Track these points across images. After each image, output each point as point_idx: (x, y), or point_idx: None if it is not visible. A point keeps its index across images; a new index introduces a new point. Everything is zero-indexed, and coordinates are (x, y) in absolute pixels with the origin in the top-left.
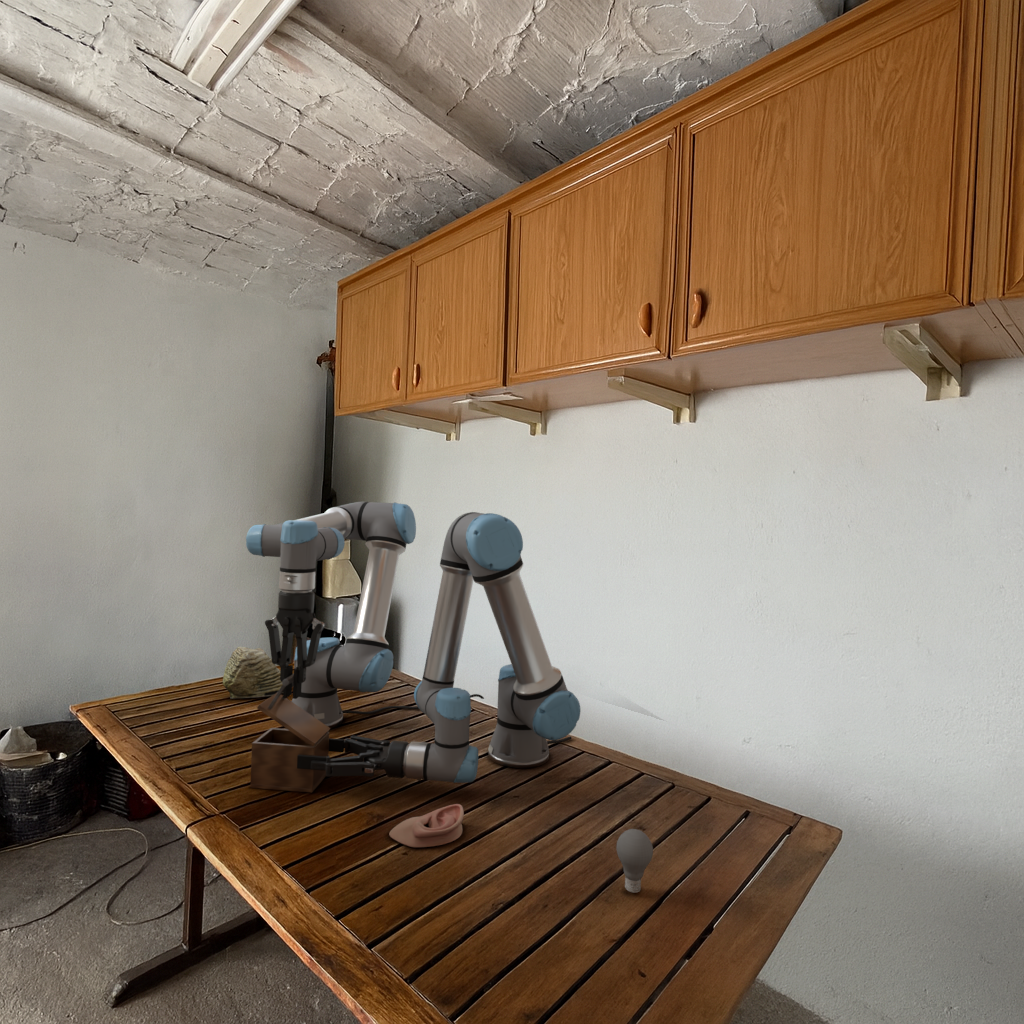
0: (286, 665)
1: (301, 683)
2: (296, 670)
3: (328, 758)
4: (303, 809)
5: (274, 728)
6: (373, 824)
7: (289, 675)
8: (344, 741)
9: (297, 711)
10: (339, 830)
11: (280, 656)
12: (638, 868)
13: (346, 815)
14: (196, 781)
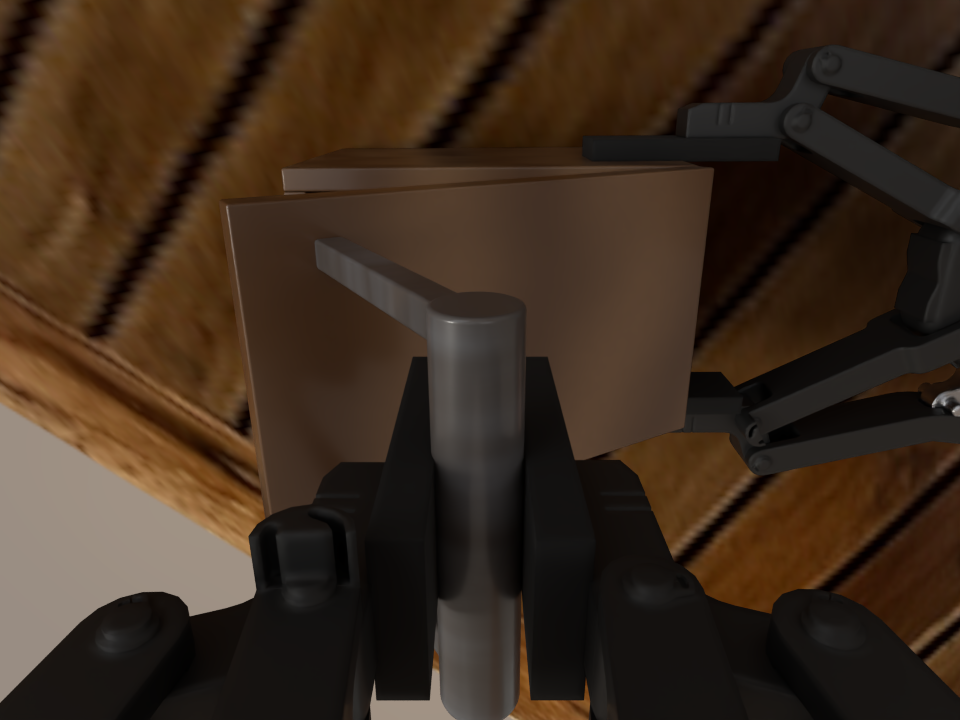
0: (370, 671)
1: (561, 413)
2: (571, 688)
3: (758, 445)
4: (632, 454)
5: (309, 176)
6: (901, 507)
7: (436, 556)
8: (774, 126)
9: (494, 268)
10: (791, 553)
11: (143, 707)
12: None
13: (797, 468)
14: (108, 316)
